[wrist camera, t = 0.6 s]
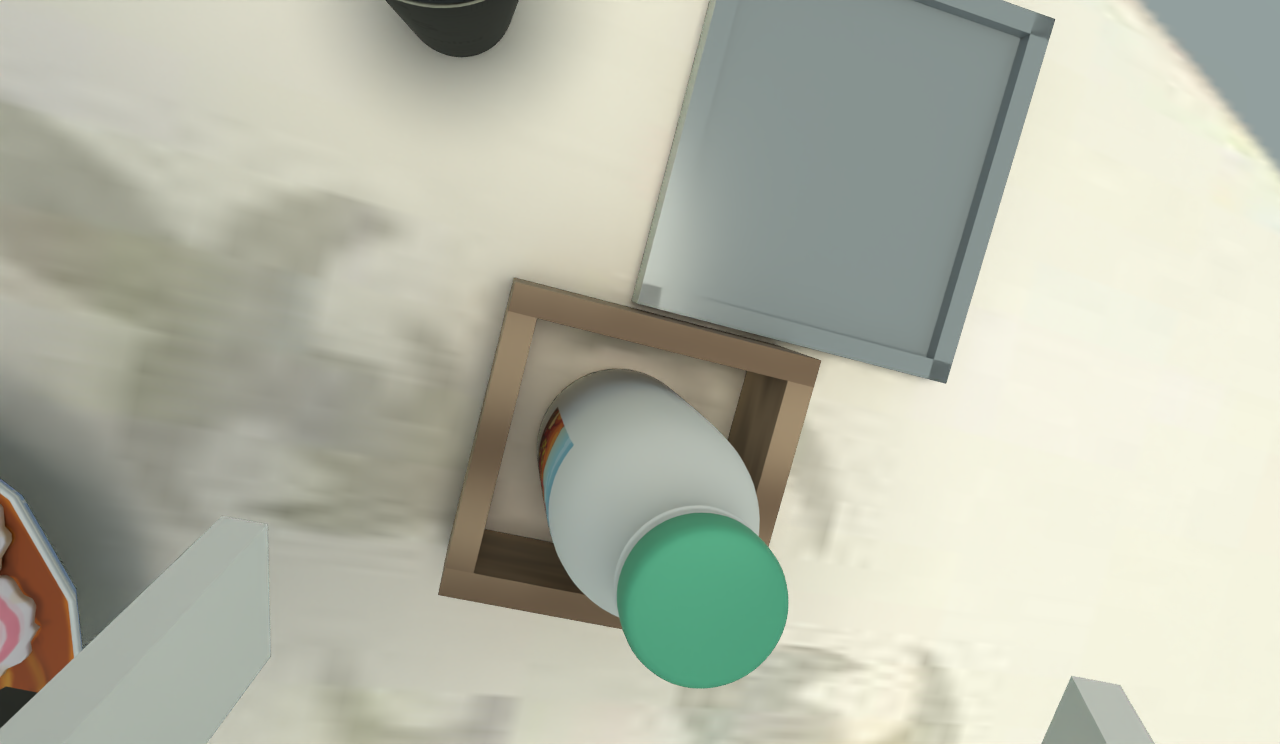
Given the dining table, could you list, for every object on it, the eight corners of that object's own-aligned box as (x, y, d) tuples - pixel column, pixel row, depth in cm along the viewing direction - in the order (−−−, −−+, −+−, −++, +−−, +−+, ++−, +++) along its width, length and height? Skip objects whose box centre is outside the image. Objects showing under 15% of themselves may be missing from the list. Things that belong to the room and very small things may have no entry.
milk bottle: (579, 340, 41) (644, 421, 21) (718, 406, 43) (898, 539, 23) (509, 482, 41) (511, 689, 22) (649, 543, 43) (768, 787, 23)
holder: (513, 277, 40) (515, 282, 34) (778, 345, 43) (821, 360, 37) (447, 546, 41) (438, 595, 36) (707, 597, 44) (738, 650, 38)
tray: (730, -78, 39) (740, -93, 38) (1032, 28, 42) (1055, 19, 41) (631, 301, 41) (637, 303, 39) (928, 378, 44) (945, 383, 42)
